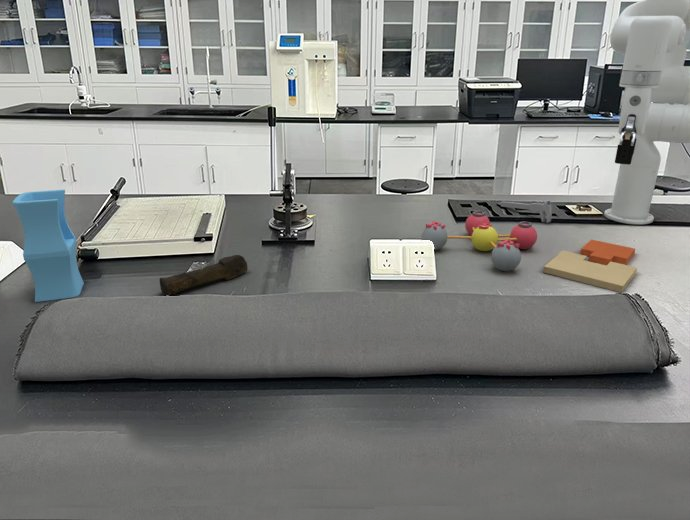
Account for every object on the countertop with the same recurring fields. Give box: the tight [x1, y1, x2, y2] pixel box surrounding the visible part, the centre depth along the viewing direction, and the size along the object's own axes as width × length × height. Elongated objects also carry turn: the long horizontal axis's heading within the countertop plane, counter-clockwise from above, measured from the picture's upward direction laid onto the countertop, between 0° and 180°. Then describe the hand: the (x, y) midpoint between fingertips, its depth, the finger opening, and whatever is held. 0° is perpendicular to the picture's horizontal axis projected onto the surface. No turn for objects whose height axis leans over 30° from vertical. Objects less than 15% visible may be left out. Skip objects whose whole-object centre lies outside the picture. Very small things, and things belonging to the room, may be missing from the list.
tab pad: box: [579, 239, 636, 266], centre depth 125 cm, size 11×10×2 cm
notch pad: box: [543, 250, 638, 293], centre depth 116 cm, size 12×16×2 cm
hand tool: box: [159, 254, 248, 296], centre depth 110 cm, size 19×4×5 cm, turn 127°
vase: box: [12, 189, 84, 303], centre depth 104 cm, size 8×8×20 cm
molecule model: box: [420, 210, 538, 272], centre depth 127 cm, size 25×21×6 cm
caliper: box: [497, 200, 553, 223], centre depth 154 cm, size 20×1×6 cm, turn 27°
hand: (624, 159), depth 120 cm, fingers open, 9 cm apart
